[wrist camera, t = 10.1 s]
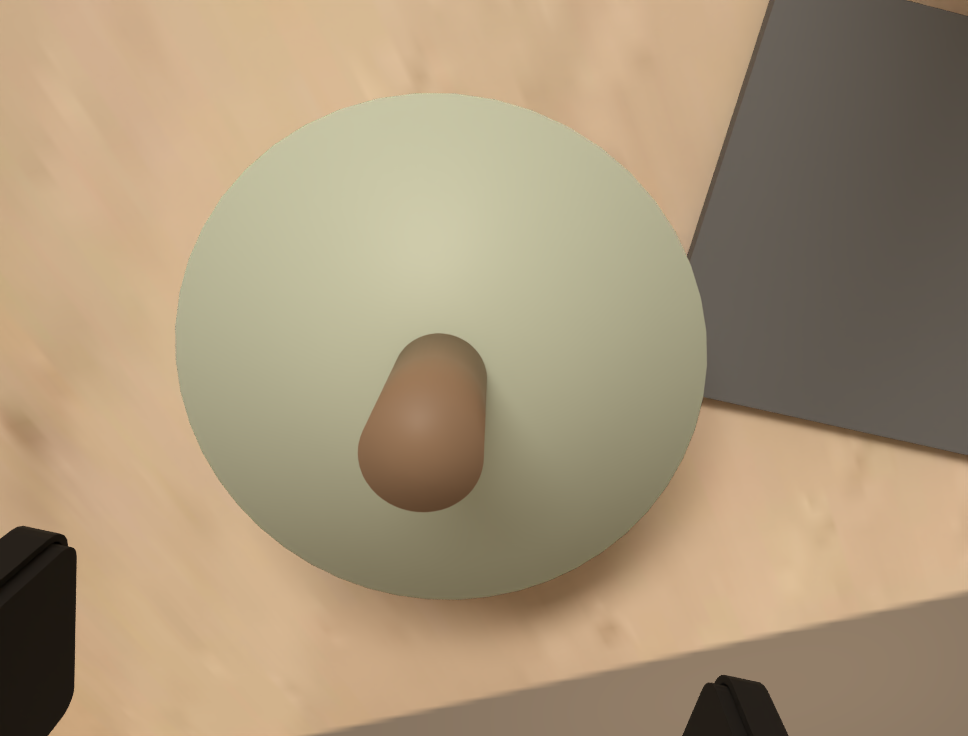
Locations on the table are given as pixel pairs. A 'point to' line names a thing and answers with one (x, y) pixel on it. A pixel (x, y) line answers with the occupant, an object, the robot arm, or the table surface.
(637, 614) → the table surface
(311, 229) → the lid
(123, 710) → the table surface
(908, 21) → the mat
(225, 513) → the table surface
